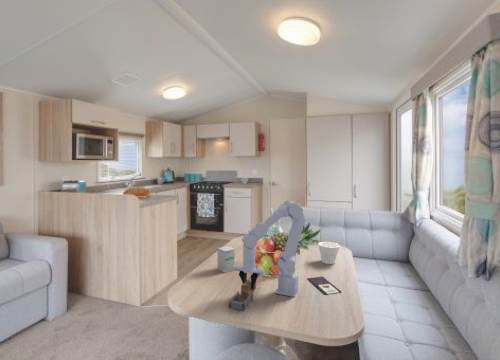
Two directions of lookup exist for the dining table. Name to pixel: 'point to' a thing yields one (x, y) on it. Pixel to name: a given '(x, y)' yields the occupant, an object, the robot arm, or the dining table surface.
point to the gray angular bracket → (239, 305)
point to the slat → (247, 288)
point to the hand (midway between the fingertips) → (248, 287)
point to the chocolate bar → (324, 285)
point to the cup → (328, 252)
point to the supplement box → (226, 259)
